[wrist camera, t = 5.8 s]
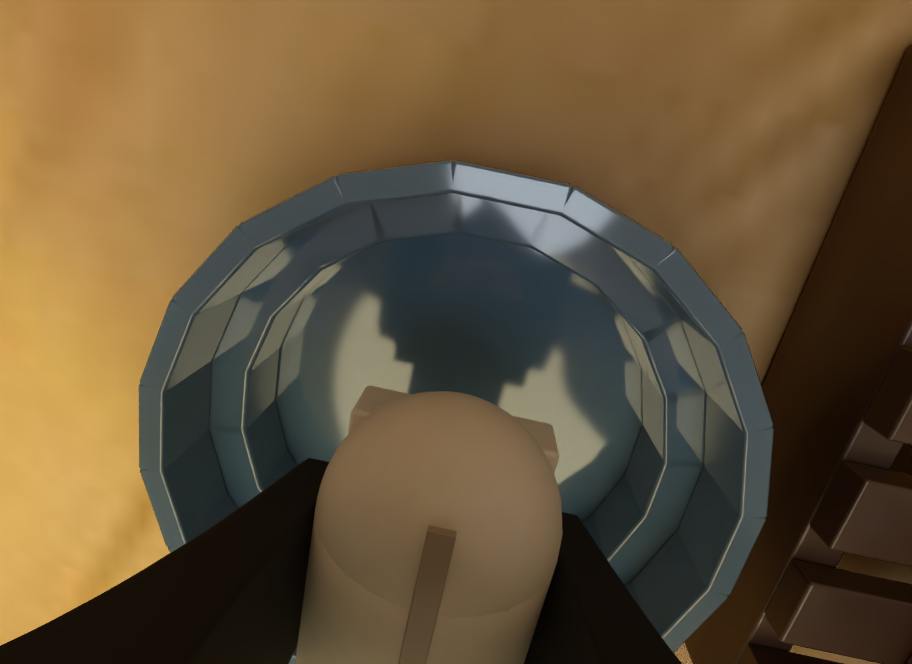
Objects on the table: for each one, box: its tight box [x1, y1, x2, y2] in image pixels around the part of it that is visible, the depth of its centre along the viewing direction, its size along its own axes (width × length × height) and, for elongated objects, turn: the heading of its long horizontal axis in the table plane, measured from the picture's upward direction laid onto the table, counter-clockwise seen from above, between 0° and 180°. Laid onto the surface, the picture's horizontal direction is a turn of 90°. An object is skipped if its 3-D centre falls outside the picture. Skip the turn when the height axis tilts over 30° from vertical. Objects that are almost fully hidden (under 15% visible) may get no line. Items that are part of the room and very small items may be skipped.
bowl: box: [139, 160, 774, 664], centre depth 12 cm, size 12×12×4 cm
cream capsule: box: [296, 386, 563, 664], centre depth 7 cm, size 6×3×3 cm, turn 169°
